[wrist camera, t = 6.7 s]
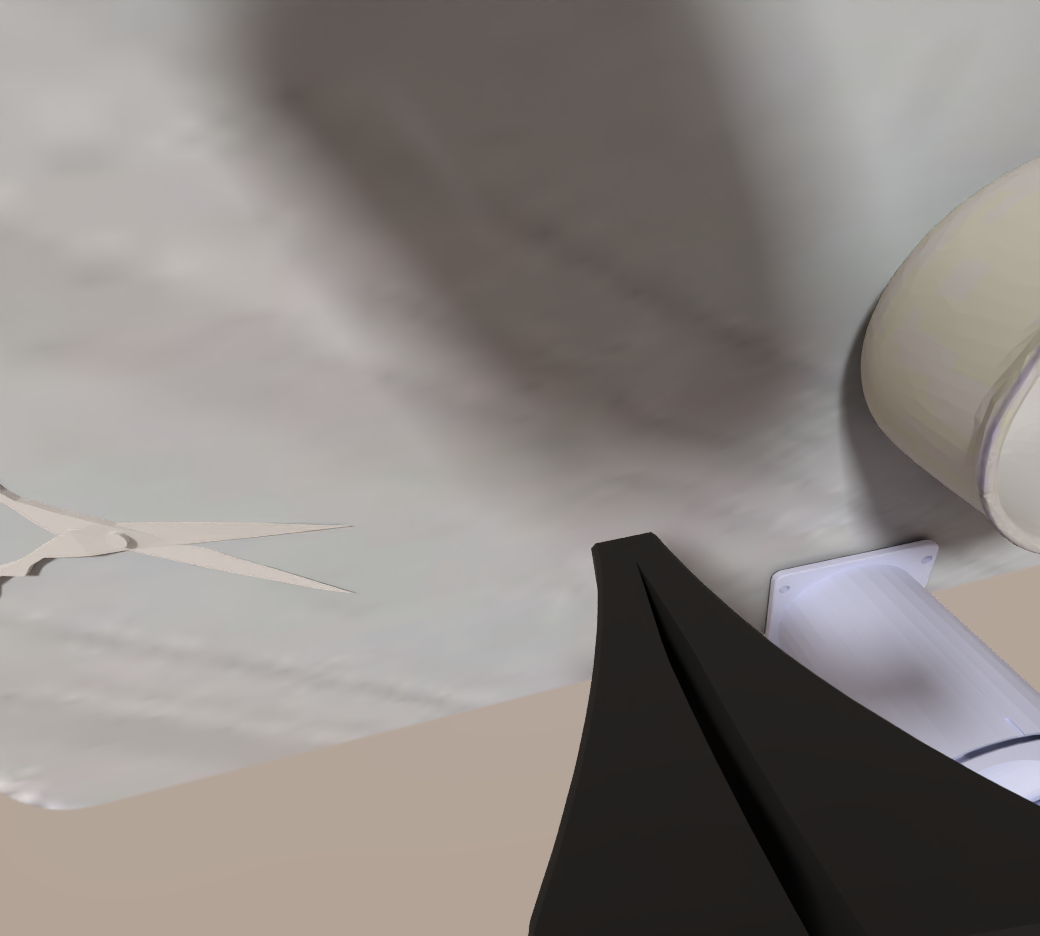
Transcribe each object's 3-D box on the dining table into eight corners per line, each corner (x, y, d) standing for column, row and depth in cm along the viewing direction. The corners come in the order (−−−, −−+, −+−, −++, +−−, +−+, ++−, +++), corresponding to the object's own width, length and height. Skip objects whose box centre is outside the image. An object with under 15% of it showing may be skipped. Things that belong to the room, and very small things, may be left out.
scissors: (-309, 380, 15) (358, 463, 18) (-275, 371, 15) (362, 453, 19) (-138, 615, 20) (352, 646, 23) (-119, 601, 21) (356, 633, 24)
